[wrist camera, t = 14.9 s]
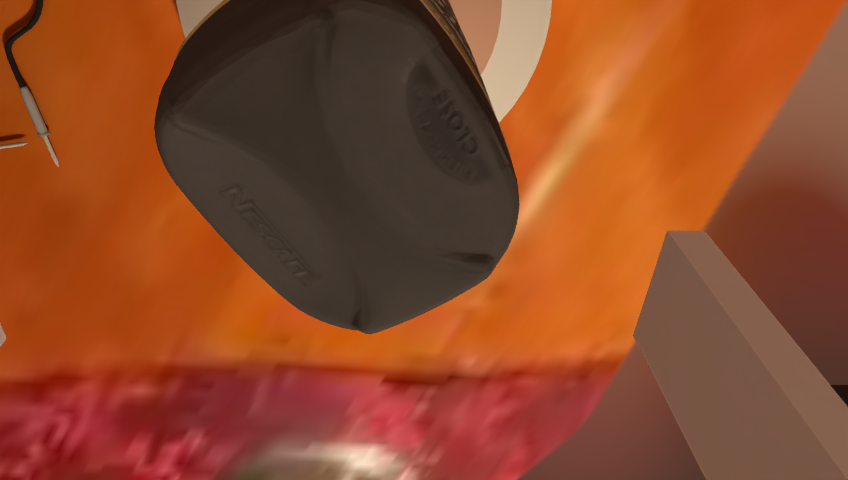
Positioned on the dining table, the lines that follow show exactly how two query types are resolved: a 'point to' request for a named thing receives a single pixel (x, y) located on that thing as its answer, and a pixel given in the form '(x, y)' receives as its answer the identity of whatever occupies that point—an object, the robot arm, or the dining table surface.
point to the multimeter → (24, 89)
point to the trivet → (470, 40)
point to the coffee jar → (342, 152)
